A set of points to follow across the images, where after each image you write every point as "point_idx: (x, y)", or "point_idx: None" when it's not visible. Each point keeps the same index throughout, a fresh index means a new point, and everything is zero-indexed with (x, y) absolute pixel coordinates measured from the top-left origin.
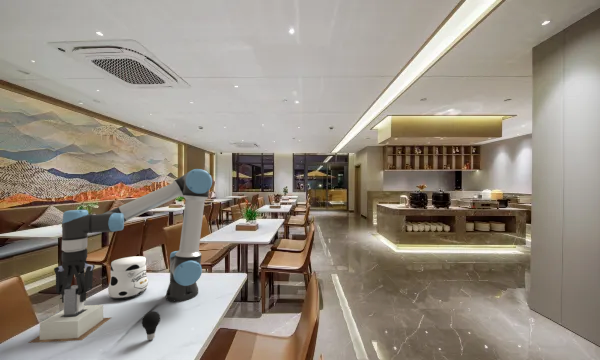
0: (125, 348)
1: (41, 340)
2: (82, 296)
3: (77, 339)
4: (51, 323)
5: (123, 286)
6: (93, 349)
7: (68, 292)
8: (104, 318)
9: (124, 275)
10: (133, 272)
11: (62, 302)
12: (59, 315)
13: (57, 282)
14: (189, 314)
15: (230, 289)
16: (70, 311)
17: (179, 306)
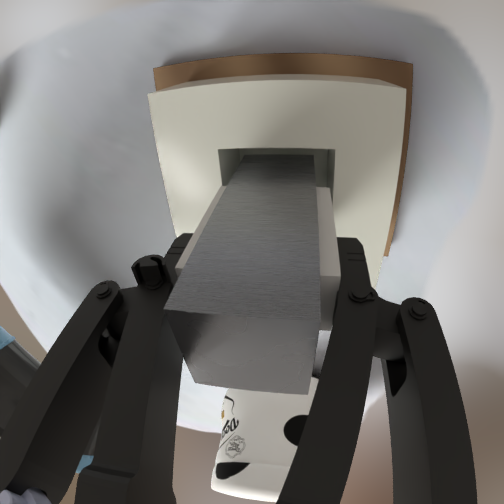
0: (15, 78)
1: (362, 70)
2: (167, 263)
3: (175, 70)
4: (324, 79)
5: (262, 407)
6: (86, 45)
7: (265, 284)
8: None
9: (254, 446)
10: (228, 452)
11: (356, 239)
12: (354, 180)
13: (446, 421)
14: (14, 248)
15: (43, 342)
16: (265, 178)
17: (64, 294)
